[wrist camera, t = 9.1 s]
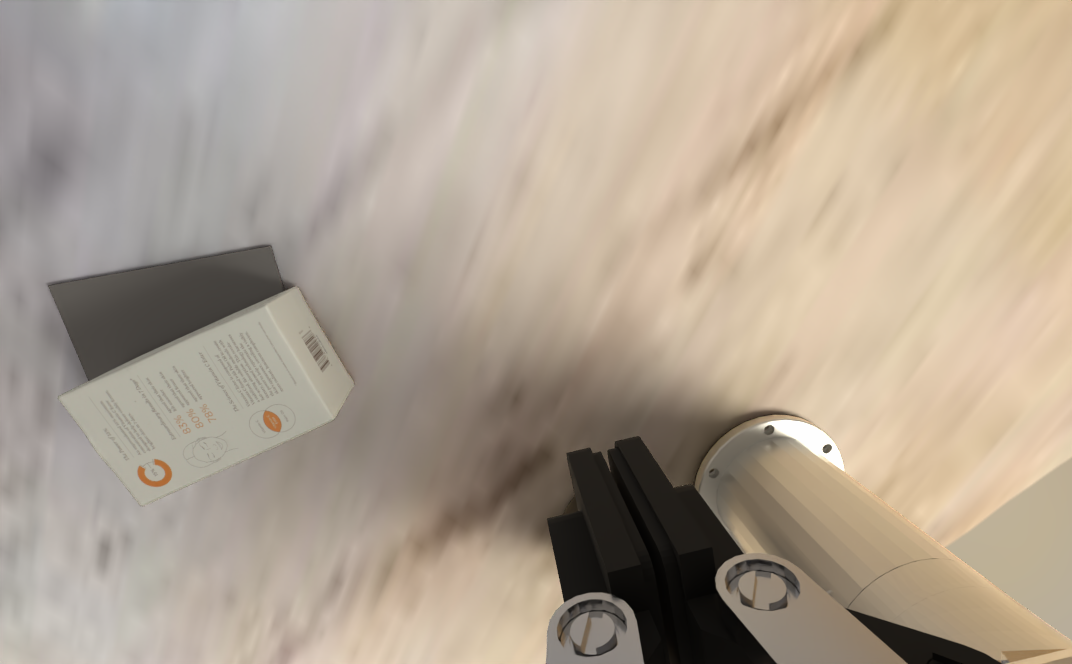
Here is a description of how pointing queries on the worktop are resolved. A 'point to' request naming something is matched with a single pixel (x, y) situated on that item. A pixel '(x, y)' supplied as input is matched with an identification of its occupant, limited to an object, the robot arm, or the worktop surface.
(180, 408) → the small box
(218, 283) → the mat
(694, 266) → the worktop surface
